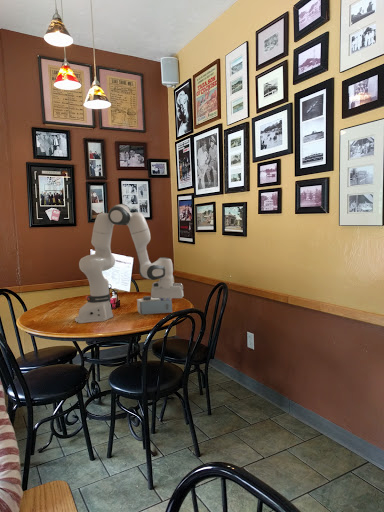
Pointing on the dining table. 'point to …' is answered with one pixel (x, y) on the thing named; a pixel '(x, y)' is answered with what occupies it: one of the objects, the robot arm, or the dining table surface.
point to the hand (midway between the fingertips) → (167, 305)
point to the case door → (156, 307)
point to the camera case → (145, 299)
